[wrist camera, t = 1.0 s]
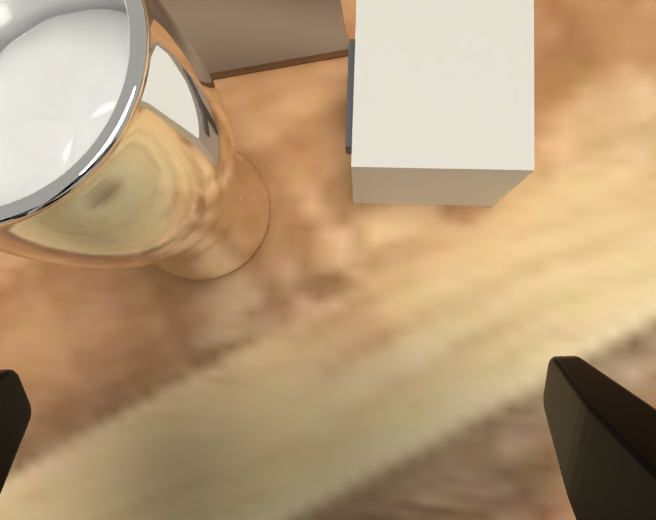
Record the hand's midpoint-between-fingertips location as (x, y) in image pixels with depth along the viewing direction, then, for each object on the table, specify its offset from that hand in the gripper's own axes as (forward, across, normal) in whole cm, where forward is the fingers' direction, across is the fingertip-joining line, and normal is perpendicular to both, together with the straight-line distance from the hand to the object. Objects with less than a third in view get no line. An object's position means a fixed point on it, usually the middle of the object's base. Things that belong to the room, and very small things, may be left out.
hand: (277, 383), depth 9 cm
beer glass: (+16, +6, +3) cm, 17 cm away
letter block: (+17, -4, +1) cm, 18 cm away
